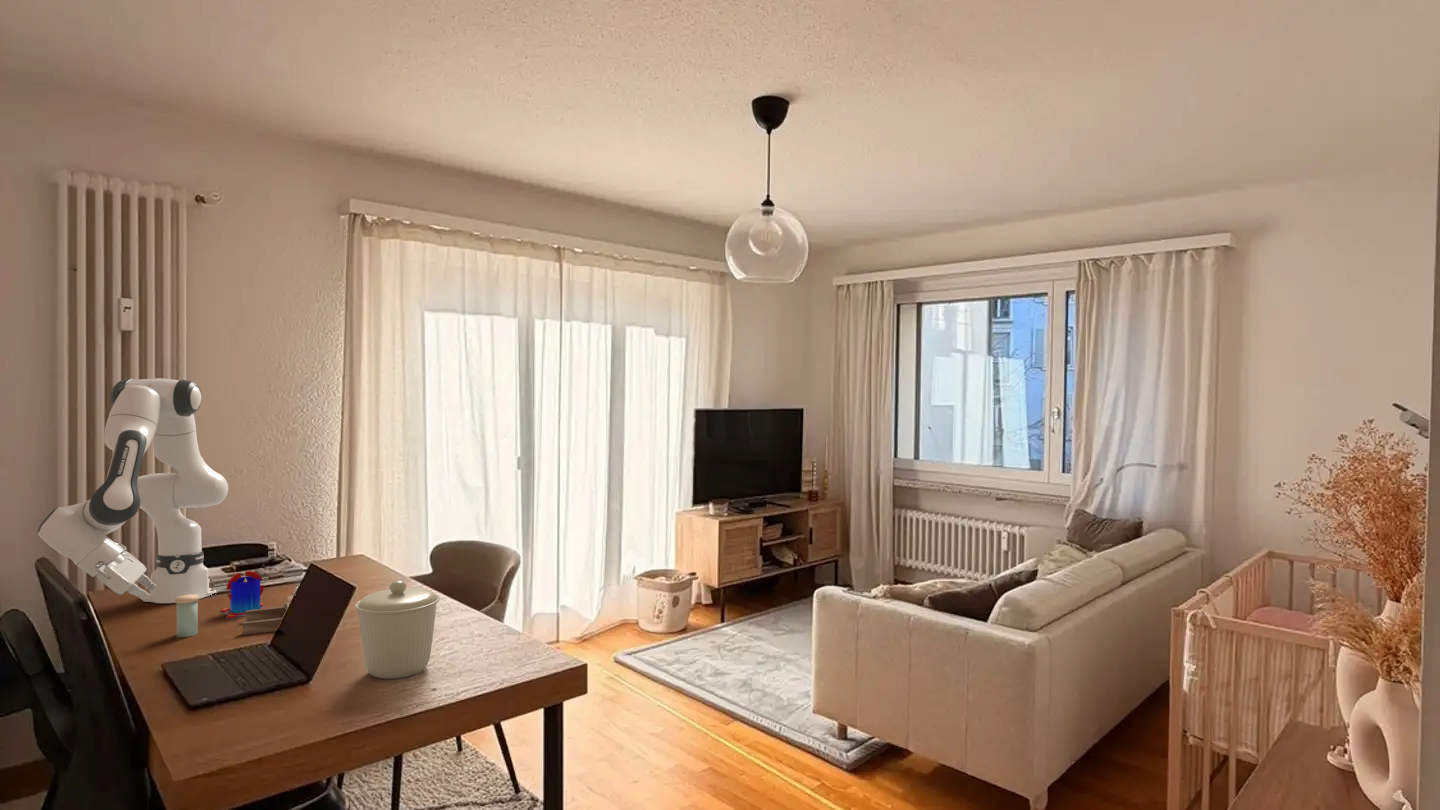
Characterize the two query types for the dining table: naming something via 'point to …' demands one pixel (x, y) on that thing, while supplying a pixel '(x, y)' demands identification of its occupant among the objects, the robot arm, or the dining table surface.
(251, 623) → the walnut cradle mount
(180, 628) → the grey-green capped cylinder
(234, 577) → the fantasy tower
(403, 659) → the canister
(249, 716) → the dining table surface
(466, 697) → the dining table surface
